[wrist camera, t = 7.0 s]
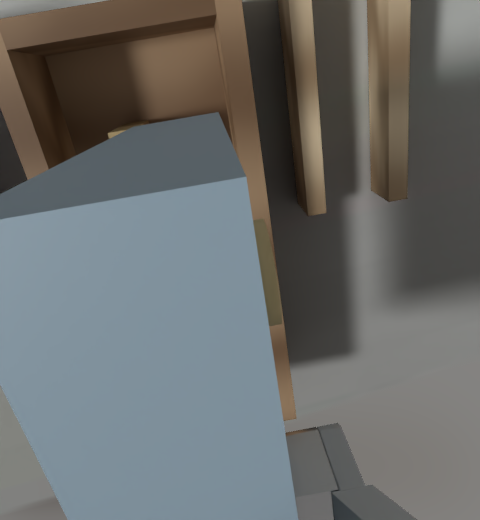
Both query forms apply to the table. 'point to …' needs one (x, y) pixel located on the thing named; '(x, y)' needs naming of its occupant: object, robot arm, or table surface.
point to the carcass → (133, 89)
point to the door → (146, 330)
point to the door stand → (380, 99)
